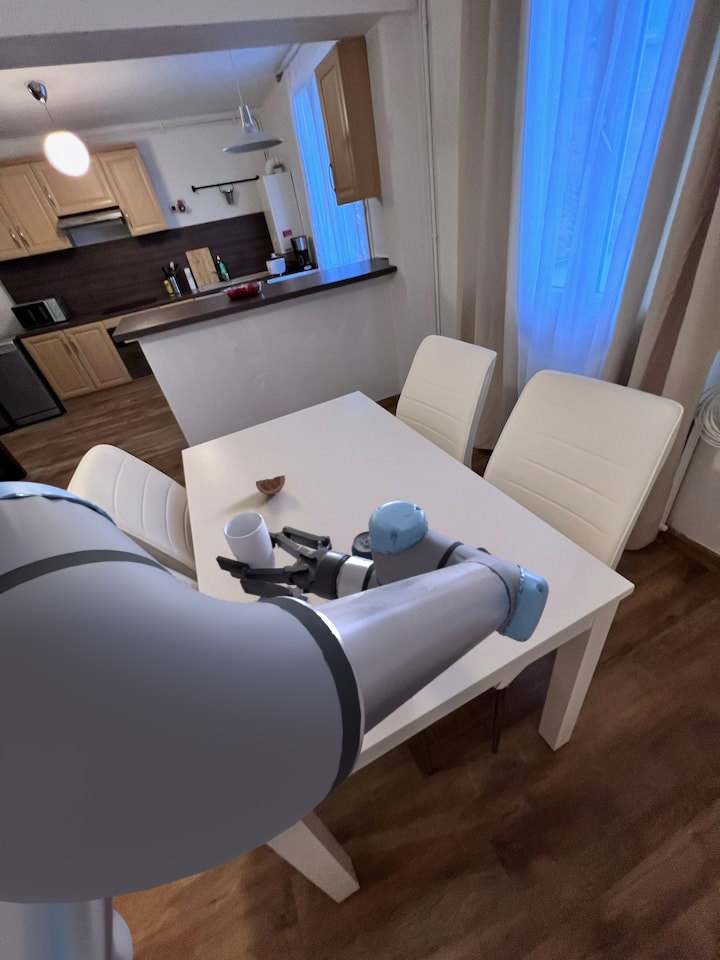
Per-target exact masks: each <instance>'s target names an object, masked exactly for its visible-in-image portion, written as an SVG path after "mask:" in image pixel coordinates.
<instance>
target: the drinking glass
mask: <svg viewBox="0 0 720 960" xmlns="http://www.w3.org/2000/svg"><path fill="white" fill-rule="evenodd" d="M268 529H269V528H267V525H266V522H265V520H264V517H263V515H262V514H260V513H258V512H256V511H246V512H241V513H239V514H236V515H235V516H233V517H231V518H230V519H229V520H228V521H227V522H226V523H225V525H224V527H223V535H224V538H225V540H226V543H227V545H228V547H229V549H230V551H231V553H232V555H233V556H234V558H235V560H236V561H239V562H243V563H246V564H248V565H249V567H250V569H254V568H278V564H277V560H276V556H275V552H274V549H273V547H272V543H271V539H270V535H269V532H270V531H269V530H268ZM277 585H280V584H277Z"/></svg>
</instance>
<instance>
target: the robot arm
mask: <svg viewBox="0 0 720 960" xmlns="http://www.w3.org/2000/svg"><path fill="white" fill-rule="evenodd" d="M367 526H368V531H369V538H370V539H369V546H370V548H371V553H372V558H373V560H369V559H365V558H361V557H357V556H352V555H350V554H347V553H343V552H339V551H334V550H333V545H332V541H331V536H329V535H318V534H317V535H316V534H313V533H310V532H307V531H304V530H301V529H298V528H294V527H291V526H288V525H286V526H283V527H282V529H281V531H277V532H272V531H268V532H269V535H270V539H271V543H272V547H273V550H274V549H275V548H276V547H277V548H278V549H281V550H283V551H284V552H286V553H287V554H288V555H290V556H291V557H293V558H294V559H296V561H295V563H293V564H292V565H285V566H283V567H277V568H254V569H250V567H249V565H248V564H246V563H243V562H239V561H237V560H236V559H232V558H228V557H225V556H221V555H217V556H216V557H215V560H216V563H217V564H218V566H219V568H220V570H222V571H225V572H228V573H229V574H230V576H231V578H234V579H238V580H239V583H240V586H241V588H242V590H243V593H244V594H248V595H252V596H257V597H259V598H260V597H265V598H268V599H264V600H260V601H258V600H255V601H251V602H239V601H230V600H225V599H221V598H216V597H213V596H212V595H209V594H206V593H204V592H201V591H199V590H196V589H194V588H192V587H190V586H188V585H187V584H186V583H184V582H182V581H181V580H179V579H178V578H177V577H175V576H174V575H173V573H171V572H170V571H169V570H168V569H167V568H166V567H165V566H164V565H163V564H161V563H160V562H159V561H158V560H157V559H155V558H154V557H153V556H152V555H151V554H150V553H148V552H147V551H146V550H145V549H144V548H142V547H141V546H140V545H139V544H138V543H136V541H134V540H133V539H131V538H130V537H129V536H128V535H127V534H126V533H124V532H123V531H122V530H121V528H119V527H118V526H117V523H116V522H115V521H114V519H113V518H112V517H111V516H110V515H109V514H108V513H107V512H106V511H105V510H104V509H103V508H101V507H100V506H98V505H96V504H95V503H93V502H91V501H89V500H87V499H84V498H81V497H80V496H78V495H76V494H74V493H73V492H70V491H68V490H66V489H63V488H60V487H56V486H53V485H49V484H45V483H40V482H32V481H31V482H30V481H0V960H134V945H133V938H132V934H131V931H130V928H129V926H128V924H127V922H126V921H125V919H124V918H123V916H122V915H121V914H120V913H119V912H118V911H117V910H116V909H114V897H119V896H122V895H123V896H124V895H129V894H135V893H139V892H144V891H149V890H152V889H155V888H158V887H161V886H164V885H167V884H171V883H174V882H177V881H180V880H183V879H187V878H189V877H192V876H196V875H198V874H202V873H204V872H207V871H211V870H214V869H216V868H218V867H220V866H222V865H225V864H227V863H228V862H231V861H232V860H235V859H237V858H238V857H241V856H243V855H245V854H247V853H250V852H251V851H254V850H255V849H257V848H260V847H262V846H264V845H266V844H268V843H269V842H270V841H272V840H274V839H275V838H277V837H278V836H280V835H282V834H283V833H284V832H285V831H287V830H289V829H290V828H292V827H294V826H295V825H296V824H297V823H299V822H300V821H301V820H302V819H303V818H305V817H306V816H307V815H308V814H309V813H310V812H312V811H313V810H315V808H317V807H318V806H320V805H321V804H322V802H323V801H324V800H326V799H327V798H328V797H329V796H330V795H331V794H332V793H333V792H335V790H337V789H338V788H339V787H340V786H341V785H343V784H344V783H345V782H346V780H347V779H348V778H349V776H350V775H351V774H352V772H353V770H354V769H355V767H356V765H357V763H358V761H359V758H360V755H361V752H362V748H363V742H364V737H365V736H366V735H367V734H368V733H369V732H370V731H371V730H373V729H375V727H377V726H378V725H379V724H381V723H382V722H383V721H384V720H385V719H387V718H388V717H389V716H391V715H392V714H393V713H394V712H396V711H397V710H398V709H399V708H401V707H402V706H403V705H405V704H406V703H407V702H409V700H411V699H412V698H413V697H414V696H416V695H417V694H419V693H420V691H422V690H423V689H424V688H426V687H427V686H428V685H429V684H431V683H432V682H433V681H435V680H436V679H437V678H438V677H439V676H440V675H442V674H444V673H445V672H446V671H447V670H448V669H450V668H451V667H452V666H454V664H456V663H457V662H458V661H460V660H461V659H462V658H463V657H464V656H466V655H467V654H469V652H471V651H472V650H473V649H474V648H476V647H477V646H478V645H479V644H481V643H482V642H484V641H485V640H486V639H487V638H488V637H490V636H491V635H492V634H493V633H494V632H497V633H498V635H501V636H502V637H506V638H510V639H512V640H514V641H516V642H521V643H525V642H528V640H530V639H531V638H532V636H533V634H534V632H535V631H536V629H537V627H538V625H539V623H540V621H541V618H542V616H543V613H544V610H545V608H546V605H547V601H548V598H549V594H550V593H549V592H550V587H549V584H548V582H547V579H545V578H544V577H542V576H541V575H538V574H537V573H534V572H532V571H530V570H528V569H526V568H524V567H523V565H520V564H514V563H512V562H509V561H506V560H504V559H502V558H499V557H498V556H494V555H493V554H491V553H490V554H491V555H490V554H487V553H485V552H482V551H480V550H477V548H474V547H472V546H470V545H467V544H466V543H464V542H461V541H459V540H457V539H455V538H452V537H450V536H447V535H445V534H443V533H440V532H439V531H438V532H437V531H435V530H433V529H431V528H429V522H428V519H427V516H426V514H425V512H424V511H423V509H421V508H420V506H419V505H417V504H415V503H413V502H411V501H406V500H397V501H396V500H395V501H390V502H386V503H384V504H382V505H380V506H379V507H377V508H376V509H375V510H374V511H373V512H372V513H371V515H370V517H369V520H368V525H367ZM308 548H309V549H311V550H312V551H311V550H309V549H308ZM277 584H279V585H277ZM281 584H286V585H287V586H285V585H281ZM291 586H296V587H291ZM303 594H304V595H306V594H313V595H315V596H317V597H319V598H320V599H325V600H328V601H325V602H322V603H318V604H315V605H312V604H310V603H308V602H307V601H306V602H305V601H303V600H300V599H297V598H298V597H299V596H300V595H303Z"/></svg>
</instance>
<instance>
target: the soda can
mask: <svg viewBox="0 0 720 960" xmlns="http://www.w3.org/2000/svg"><path fill="white" fill-rule="evenodd" d="M369 539H370V538H369V530H368V531H363V532H360V533H359V534H357V535H356V536H355V537H354V539H353V541H352V545H351V557H352V556H357V557H361V558H365V559H369V560H373V558H372V553H371V548H370V546H369Z"/></svg>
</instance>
